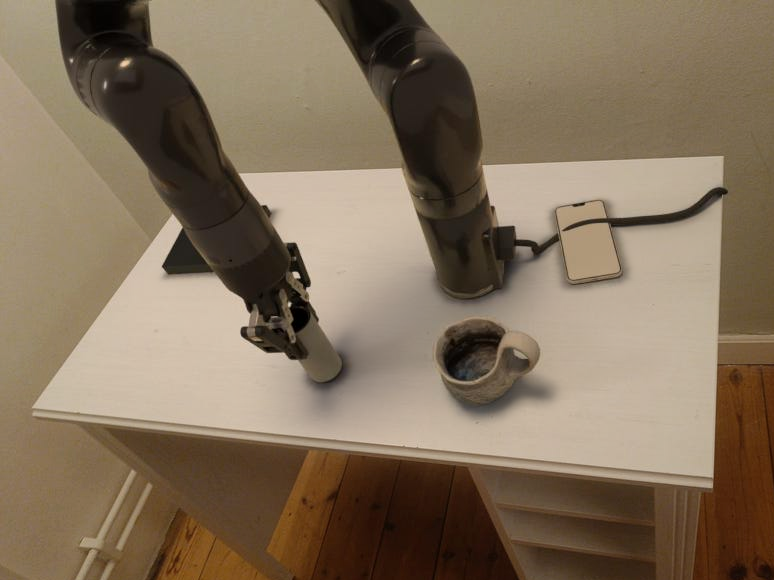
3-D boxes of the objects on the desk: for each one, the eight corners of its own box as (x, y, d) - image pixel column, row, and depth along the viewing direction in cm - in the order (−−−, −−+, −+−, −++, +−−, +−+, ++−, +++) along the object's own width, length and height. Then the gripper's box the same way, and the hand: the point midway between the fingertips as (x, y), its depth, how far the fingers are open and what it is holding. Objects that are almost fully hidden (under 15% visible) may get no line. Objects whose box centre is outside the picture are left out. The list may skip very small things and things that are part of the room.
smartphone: (567, 282, 81) (553, 207, 90) (567, 285, 82) (553, 210, 91) (623, 273, 80) (603, 198, 89) (623, 276, 81) (603, 201, 90)
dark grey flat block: (274, 213, 102) (264, 196, 100) (249, 270, 95) (238, 254, 92) (197, 218, 105) (186, 203, 102) (168, 274, 98) (155, 259, 95)
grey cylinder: (335, 383, 79) (302, 335, 70) (304, 381, 80) (268, 333, 71) (346, 355, 81) (315, 305, 73) (316, 353, 82) (282, 303, 74)
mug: (452, 348, 79) (434, 297, 71) (549, 349, 76) (541, 296, 68) (439, 413, 74) (418, 366, 66) (543, 416, 71) (534, 368, 63)
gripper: (248, 290, 57) (320, 388, 71) (290, 188, 65) (347, 294, 79) (177, 294, 58) (261, 389, 72) (226, 194, 66) (293, 296, 80)
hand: (305, 339), depth 75 cm, fingers closed on grey cylinder, 4 cm apart
